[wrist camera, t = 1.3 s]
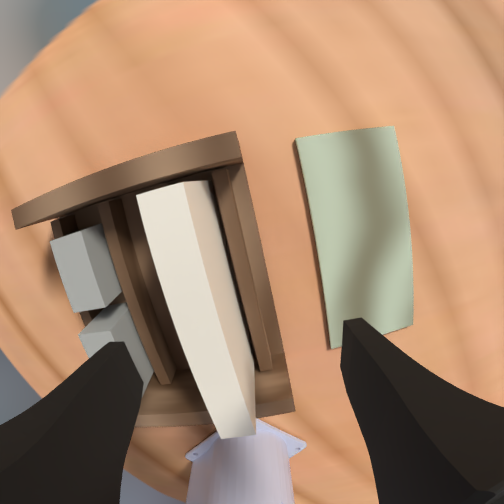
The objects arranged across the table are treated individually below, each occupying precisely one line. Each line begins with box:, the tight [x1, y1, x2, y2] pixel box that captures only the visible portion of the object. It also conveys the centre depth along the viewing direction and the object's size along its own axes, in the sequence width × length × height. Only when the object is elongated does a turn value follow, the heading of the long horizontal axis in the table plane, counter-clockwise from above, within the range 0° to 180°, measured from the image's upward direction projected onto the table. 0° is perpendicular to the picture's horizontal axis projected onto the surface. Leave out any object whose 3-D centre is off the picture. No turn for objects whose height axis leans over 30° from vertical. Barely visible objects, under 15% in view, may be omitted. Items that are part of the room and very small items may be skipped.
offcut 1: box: [50, 223, 122, 313], centre depth 17 cm, size 2×4×4 cm, turn 12°
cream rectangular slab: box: [136, 180, 256, 439], centre depth 15 cm, size 2×12×8 cm, turn 12°
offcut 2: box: [78, 302, 154, 397], centre depth 18 cm, size 2×5×4 cm, turn 12°
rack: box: [11, 126, 413, 427], centre depth 17 cm, size 24×16×6 cm, turn 102°
